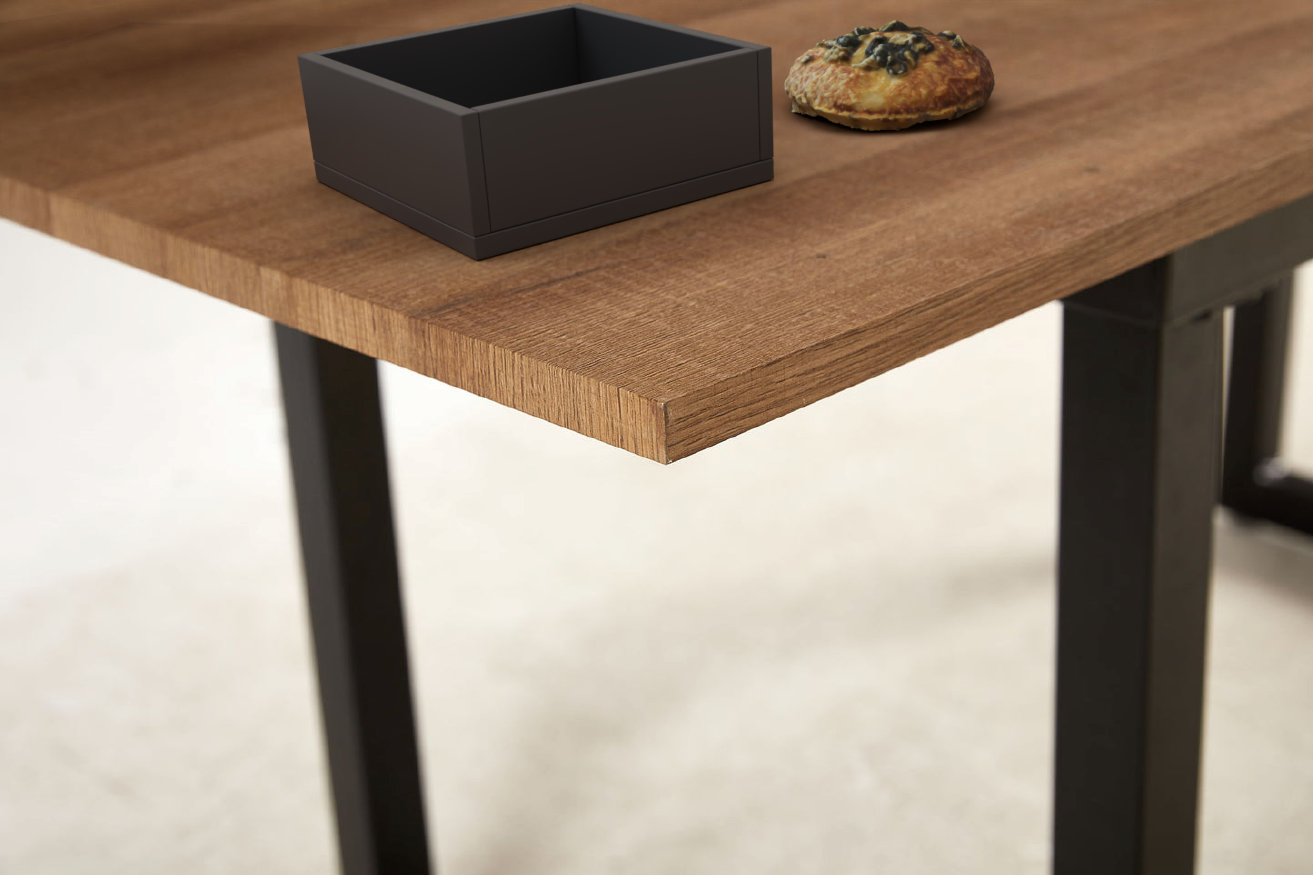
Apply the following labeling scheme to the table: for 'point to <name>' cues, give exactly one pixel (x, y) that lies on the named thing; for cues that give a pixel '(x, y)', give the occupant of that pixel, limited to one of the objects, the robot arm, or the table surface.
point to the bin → (538, 123)
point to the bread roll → (890, 77)
